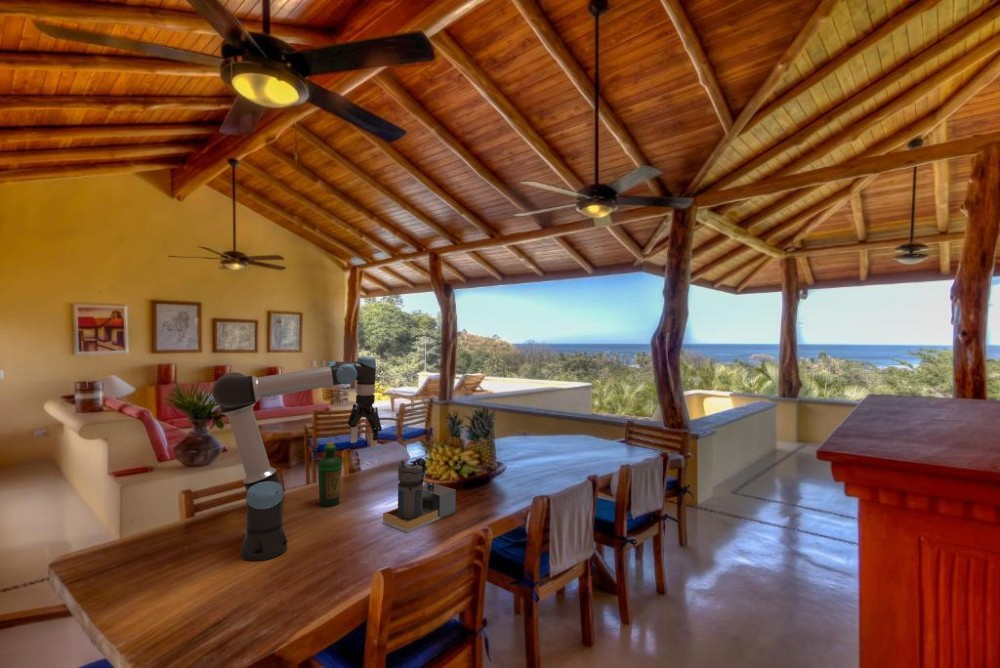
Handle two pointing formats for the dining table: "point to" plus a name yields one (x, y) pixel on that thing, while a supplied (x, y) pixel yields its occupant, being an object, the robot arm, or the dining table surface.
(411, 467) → the beverage bottle
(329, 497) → the bottle
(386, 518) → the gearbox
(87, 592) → the dining table surface
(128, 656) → the dining table surface
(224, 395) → the robot arm
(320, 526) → the dining table surface
